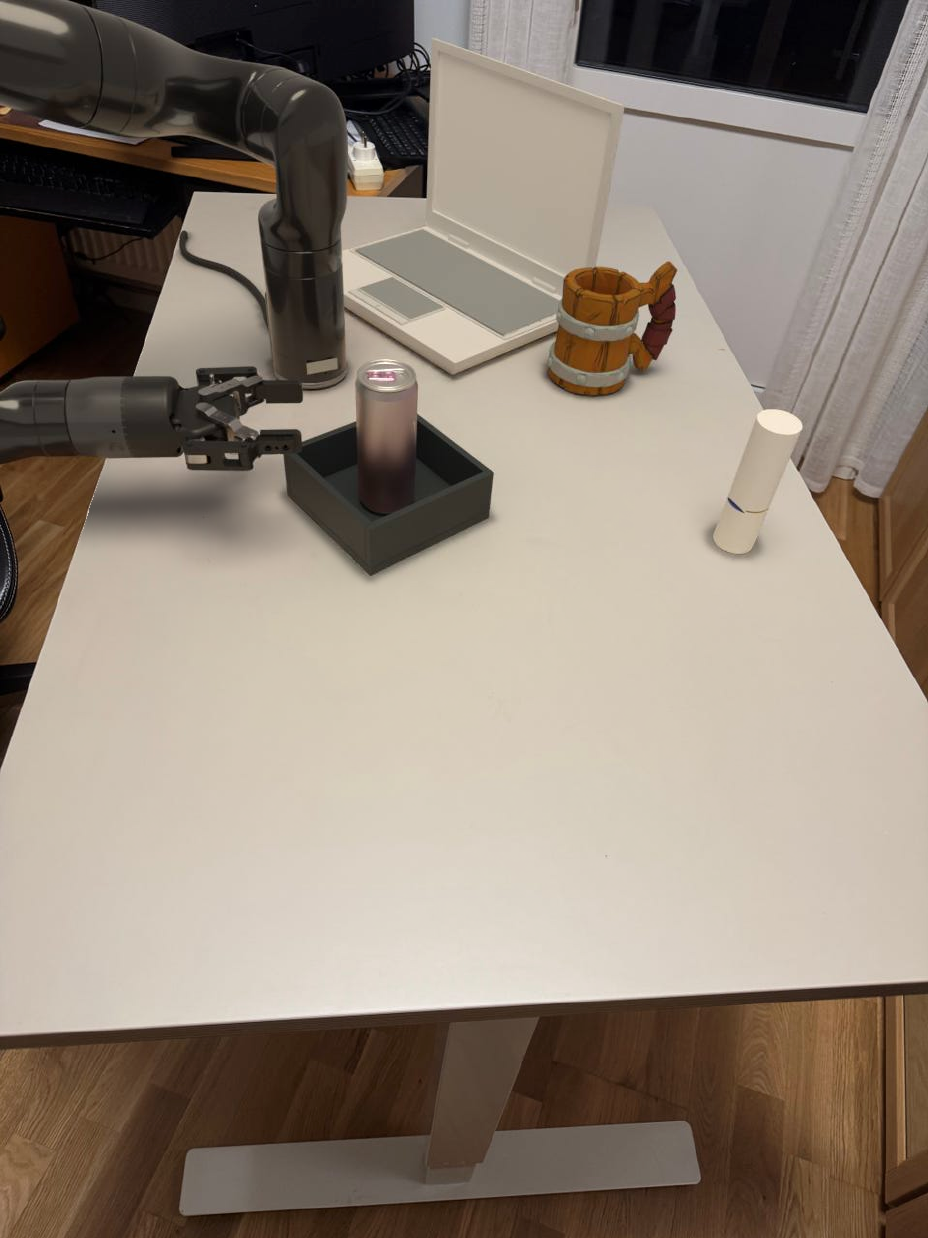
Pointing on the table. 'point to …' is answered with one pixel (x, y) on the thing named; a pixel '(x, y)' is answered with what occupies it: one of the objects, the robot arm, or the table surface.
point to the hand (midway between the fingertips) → (302, 415)
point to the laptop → (491, 213)
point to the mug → (609, 327)
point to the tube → (756, 480)
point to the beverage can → (386, 434)
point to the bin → (441, 508)
